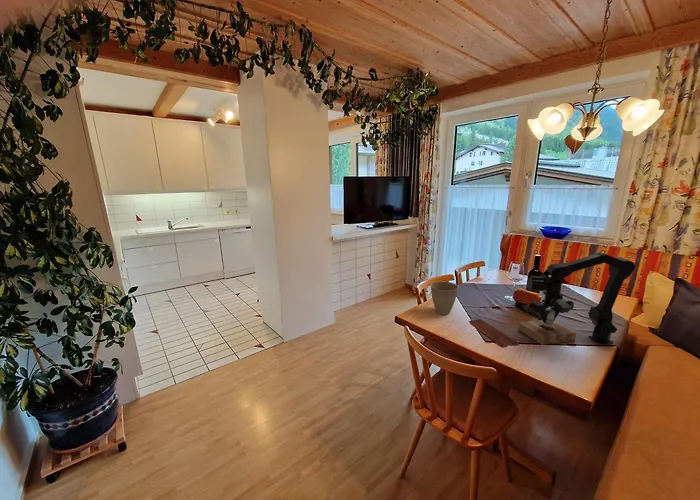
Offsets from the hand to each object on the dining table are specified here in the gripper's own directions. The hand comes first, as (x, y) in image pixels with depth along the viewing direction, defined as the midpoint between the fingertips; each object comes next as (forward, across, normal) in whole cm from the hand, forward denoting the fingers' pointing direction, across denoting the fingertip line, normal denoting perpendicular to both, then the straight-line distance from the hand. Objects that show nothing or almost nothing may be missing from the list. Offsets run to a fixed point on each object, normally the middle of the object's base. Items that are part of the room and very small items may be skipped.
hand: (548, 321), depth 138 cm
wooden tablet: (+8, -24, +8) cm, 26 cm away
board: (+7, 0, 0) cm, 7 cm away
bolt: (+7, +12, +21) cm, 25 cm away
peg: (+2, 0, 0) cm, 2 cm away
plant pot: (+7, -36, +33) cm, 50 cm away
